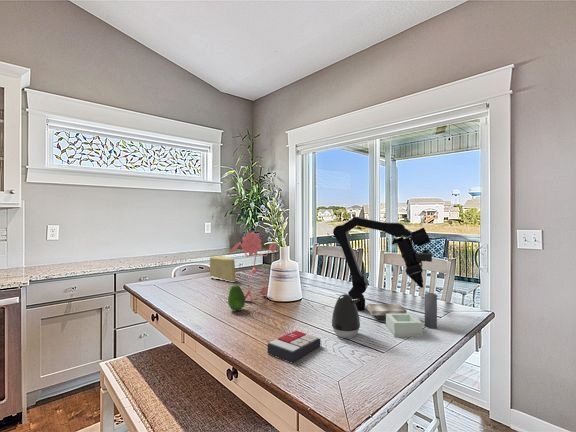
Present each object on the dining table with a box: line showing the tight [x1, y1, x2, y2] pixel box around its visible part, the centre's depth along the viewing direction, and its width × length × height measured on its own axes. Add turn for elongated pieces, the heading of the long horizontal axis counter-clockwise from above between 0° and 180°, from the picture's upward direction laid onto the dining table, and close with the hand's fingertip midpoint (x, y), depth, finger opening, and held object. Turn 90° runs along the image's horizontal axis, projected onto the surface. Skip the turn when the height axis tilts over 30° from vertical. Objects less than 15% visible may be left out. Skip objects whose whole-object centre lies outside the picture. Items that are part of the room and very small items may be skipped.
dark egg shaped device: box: [331, 293, 361, 339], centre depth 117 cm, size 10×10×15 cm
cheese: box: [209, 255, 236, 282], centre depth 209 cm, size 22×10×15 cm, turn 43°
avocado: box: [227, 284, 246, 311], centre depth 148 cm, size 8×8×12 cm
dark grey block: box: [423, 292, 438, 330], centre depth 124 cm, size 4×4×12 cm
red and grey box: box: [267, 330, 321, 364], centre depth 107 cm, size 11×4×15 cm
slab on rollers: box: [366, 303, 408, 321], centre depth 135 cm, size 14×9×4 cm, turn 90°
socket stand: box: [385, 312, 423, 338], centre depth 120 cm, size 10×10×5 cm
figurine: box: [229, 230, 277, 302], centre depth 167 cm, size 15×26×35 cm, turn 128°
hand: (422, 284), depth 136 cm, fingers open, 9 cm apart
